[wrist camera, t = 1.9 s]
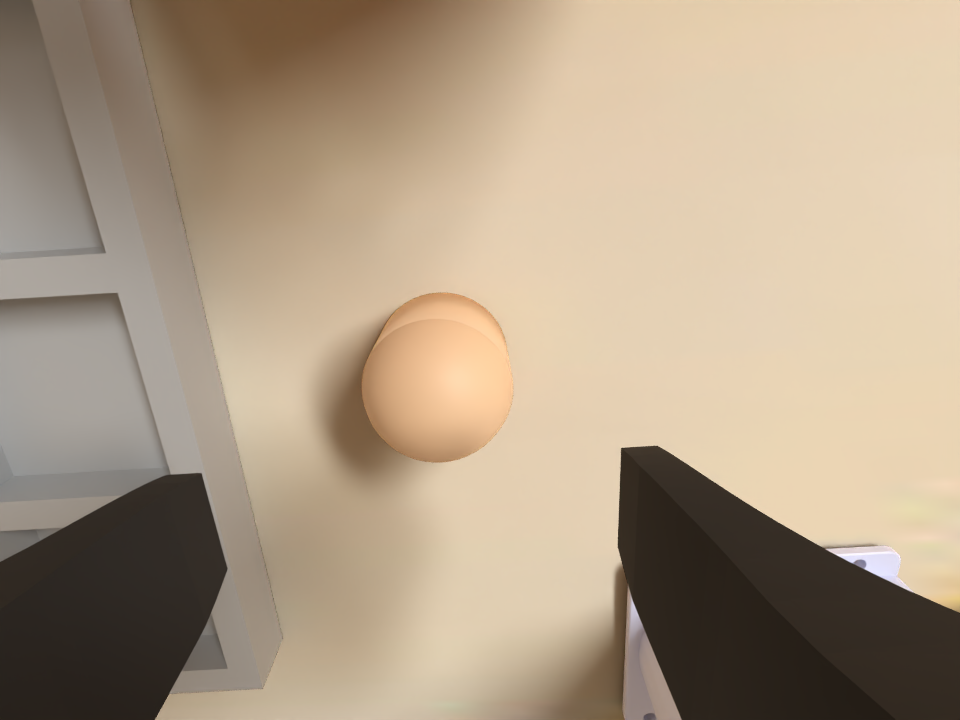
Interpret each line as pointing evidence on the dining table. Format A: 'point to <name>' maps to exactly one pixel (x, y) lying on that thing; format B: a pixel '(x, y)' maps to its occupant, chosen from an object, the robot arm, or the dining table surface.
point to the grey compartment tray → (109, 316)
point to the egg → (438, 378)
